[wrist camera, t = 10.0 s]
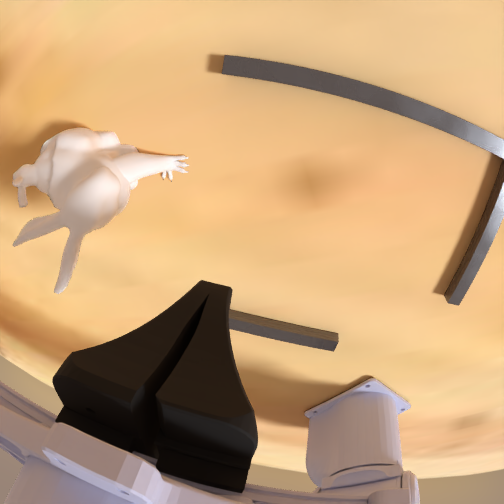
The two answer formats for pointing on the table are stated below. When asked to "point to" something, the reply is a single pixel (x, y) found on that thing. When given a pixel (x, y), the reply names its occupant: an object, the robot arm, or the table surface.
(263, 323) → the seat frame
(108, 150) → the white figurine
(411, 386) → the table surface
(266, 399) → the table surface
